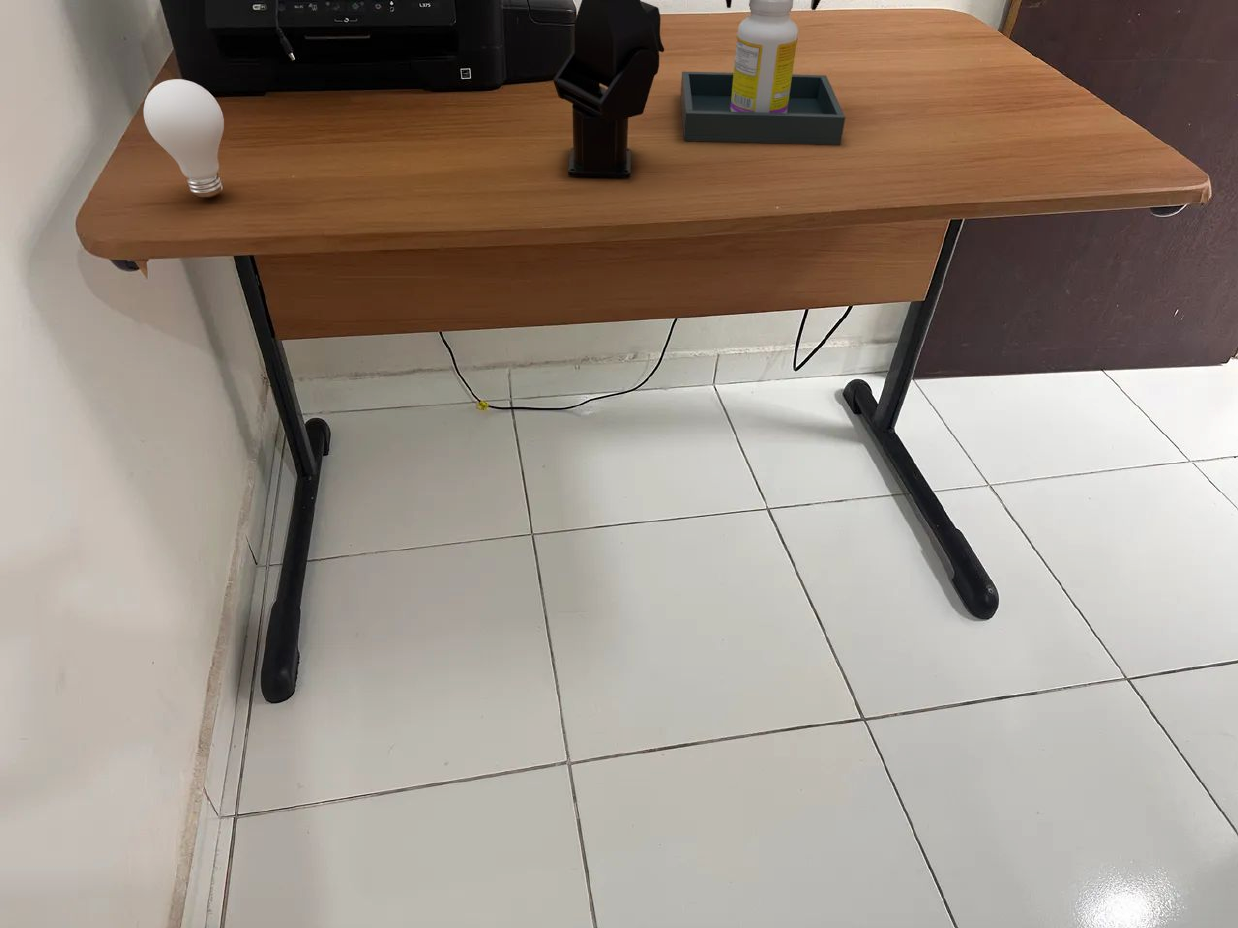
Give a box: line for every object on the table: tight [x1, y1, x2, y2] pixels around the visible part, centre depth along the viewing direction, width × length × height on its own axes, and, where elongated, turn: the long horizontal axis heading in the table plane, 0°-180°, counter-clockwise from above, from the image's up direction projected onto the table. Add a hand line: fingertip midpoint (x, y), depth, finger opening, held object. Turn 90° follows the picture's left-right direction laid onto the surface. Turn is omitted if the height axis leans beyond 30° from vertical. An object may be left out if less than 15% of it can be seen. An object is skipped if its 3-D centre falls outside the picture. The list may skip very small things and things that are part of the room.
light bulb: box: [143, 78, 225, 199], centre depth 81 cm, size 7×7×11 cm
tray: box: [679, 70, 846, 146], centre depth 101 cm, size 14×18×3 cm
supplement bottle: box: [731, 0, 799, 113], centre depth 98 cm, size 7×7×13 cm
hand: (770, 8), depth 94 cm, fingers open, 9 cm apart
